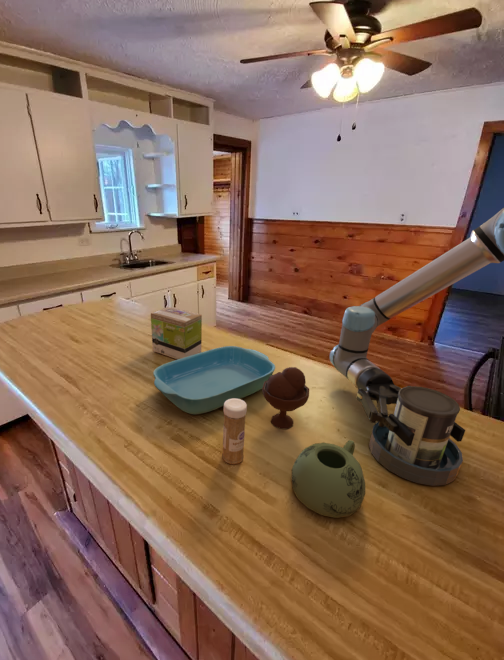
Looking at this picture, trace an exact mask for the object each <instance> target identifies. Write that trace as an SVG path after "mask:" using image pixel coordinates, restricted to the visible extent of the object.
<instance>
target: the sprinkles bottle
mask: <svg viewBox="0 0 504 660" xmlns="http://www.w3.org/2000/svg"><path fill="white" fill-rule="evenodd" d="M247 408H248V404H247V402H246V401H245V400H243V399H242V398H241V399H236V398H233V399H228V400H227V401H225V403H224V406H223V427H222V428H223V429H222V430H223V431H222V449H223V450H222V456H221V457H222V460H223V461H224V462H225V463H227V464H230V465H238V464H240V463H241V462H243V460H244V447H245V433H246V432H245V431H246V430H245V429H246V415H247V412H248V409H247Z"/></svg>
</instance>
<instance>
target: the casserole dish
mask: <svg viewBox="0 0 504 660" xmlns="http://www.w3.org/2000/svg"><path fill="white" fill-rule="evenodd" d="M275 370H276V364H275V363H273V362H272V361H271V360H270V358H269V356H268V355H266V354H265V353H263V352H260V351H258V350H256V349H251V348H245V347H241V346H237V345H226V346H220V347H216V348H211V349H209V350H205V351H201V353H198V354H194V355H191V356H188V357H184V358H181V359H178V360H177V359H175V360H172V361H169V362H165V363H163V364H161V365H159V366H157V367H156V368H155V369H154V370H153V373H152V374H153V378H154V380H153V381H154V382H153V385H154V387H155V388H156V389H157V390H158V391H159V392H160V393H161V394H162V395H163V396H164V397H165V398H166V399H167V400H168V401H170V402H171V403H172V404H173V405H174V406H175V407H177V408H178V409H179V410H181V411H183V412H184V413H187V414H190V415H201V414H206V413H209V412H212V411H214V410H217V409H219V408H222V407H224V403H225V401H227V400H228V399H233V398H236V399H241V400H242V399H244V398H247V397H248V396H250V395H251V396H252V395H253V394H254V393H255V394H256V393H257V392H259V391H260V390H262V388H263V384H264V382H265V381H267V380H268V379H269V377H270V376H271V375H274V372H275Z"/></svg>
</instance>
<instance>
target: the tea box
mask: <svg viewBox="0 0 504 660" xmlns="http://www.w3.org/2000/svg"><path fill="white" fill-rule="evenodd" d="M202 317H203V315H202V314H201V313H197V312H193V311H189V310H185V309H180V308H177V307H173V306H167V307H164V308H161V309H159V310H157V311H153V312H151V313H150V326H151V327H150V328H151V345H152V351H153V353H157V354H161V355H163V356H166V357H169V358H172V359H175V360H178V359H181V358H184V357H188V356H191V355H194V354H198V353H201V352H202V342H203V341H202V335H203V334H202V333H203V332H202V330H203V329H202V328H203V327H202V325H203V323H202V322H203V321H202V320H203V318H202Z"/></svg>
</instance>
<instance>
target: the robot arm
mask: <svg viewBox="0 0 504 660" xmlns="http://www.w3.org/2000/svg"><path fill="white" fill-rule="evenodd" d="M502 262H504V207H503V208H502V209H500V210H499V211H498V212H497V213H496V214H494V215H493V216H492V217H491V218H489V219H488V220H487V221H485V222H483V223H482V224H481V225H479V226H478V227H476V228H475V229H472V231H471V233H470V237H468V238H467V239H465V240H464V241H462V242H460V243H459V244H458V245H456V246H454V247H452V248H451V249H449V250H447V251H446V252H445V253H443V254H442V255H440V256H438V257H437V258H435V259H433V260H432V261H430V262H429V263H427V264H426V265H424V266H423V267H421V268H419V269H417V270H416V271H414V272H412V273H411V274H410V275H408V276H406V277H405V278H403V279H401V280H400V281H399V282H397V283H395V284H394V285H392V286H390V287H388V288H387V289H386V290H384V291H382V292H381V293H379V294H377V295H376V296H375V297H373V298H372V299H369V300H368V301H366V302H364V303H362V304H360V305H353V306H349V307H347V308H346V309H345V311H344V314H343V317H342V320H341V322H342V324H341V329H340V335H339V341H338V344H337V345H335V346H334V347H333V348H332V350H330V352H329V361H330V364H332V366H333V367H334V368H335V370H336V371H338V372H339V373H340V374H341V375H343V376H344V377H345V379H347V381H349V382H350V383H351V384H352V385H353V386H354V387H355V388H356V389H357V393H356V397H355V398H356V400H357V401H358V402H359V403H360V404H361V406H362V408H363V410H364V412H365V415H366V416H367V419H368V420H369V422H370V423H372V424H376V423H377V422H379V426H380V427H385V426H386V427H387V428H388V429H389V430H390V431H391V432H394V433H395V434H396V435H397V436H398V437H399V438H400V439H401V440H402V441H403V442H404V443H405V444H406V445H407V446H411V445H412V441H413V438H414V435H415V434H414V433H413V432H412V431H411V430H410V429H408V428H407V427H406V426H405V425H404V424H403V423H402V422H401V421H399V420H398V419H397V417H396V416H394V413H389V411H388V405H396V404H397V400H398V393H399V390H400V389H402V387H400V386H398V385H395V383H394V381H393V378H392V377H391V376H390V375H389V374H388V373H387V372H385V371H384V370H383V369H381V368H380V367H379V366H378V365H377V364H375V363H373V362H372V361H371V360H370V359H369V358H368V357H367V356H368V351H369V347H370V343H371V338H372V335H373V333H374V332H375V331H376V329H377V328H378V327H379V326H381V325H383V324H384V323H386V322H388V321H390V320H391V319H393V318H394V317H396V316H398V315H400V314H401V313H404V312H405V311H407V310H409V309H411V308H412V307H414V306H416V305H418V304H419V303H422V302H423V301H425V300H427V299H429V298H431V297H432V296H434V295H436V294H438V293H440V292H441V291H443V290H445V289H447V288H448V287H450V286H453V285H454V284H456V283H457V282H459V281H461V280H462V279H464V278H466V277H468V276H470V275H472V274H474V273H476V272H477V271H479V270H481V269H482V268H484V267H486V266H488V265H489V264H500V263H502ZM409 386H410V385H407V386H406V387H409ZM373 401H375V403H376V406H375V404H374V402H373ZM376 407H377V408H376ZM465 433H466V429H465V428H464V427H462V426H461V425H459V424H458V423H457V422H456V421H455V422H454V425H453V428H452V431H451V434H450V437H452V438H453V440H455V441H457V442H458V443H460V442H462V440H463V438H464V436H465Z"/></svg>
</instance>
